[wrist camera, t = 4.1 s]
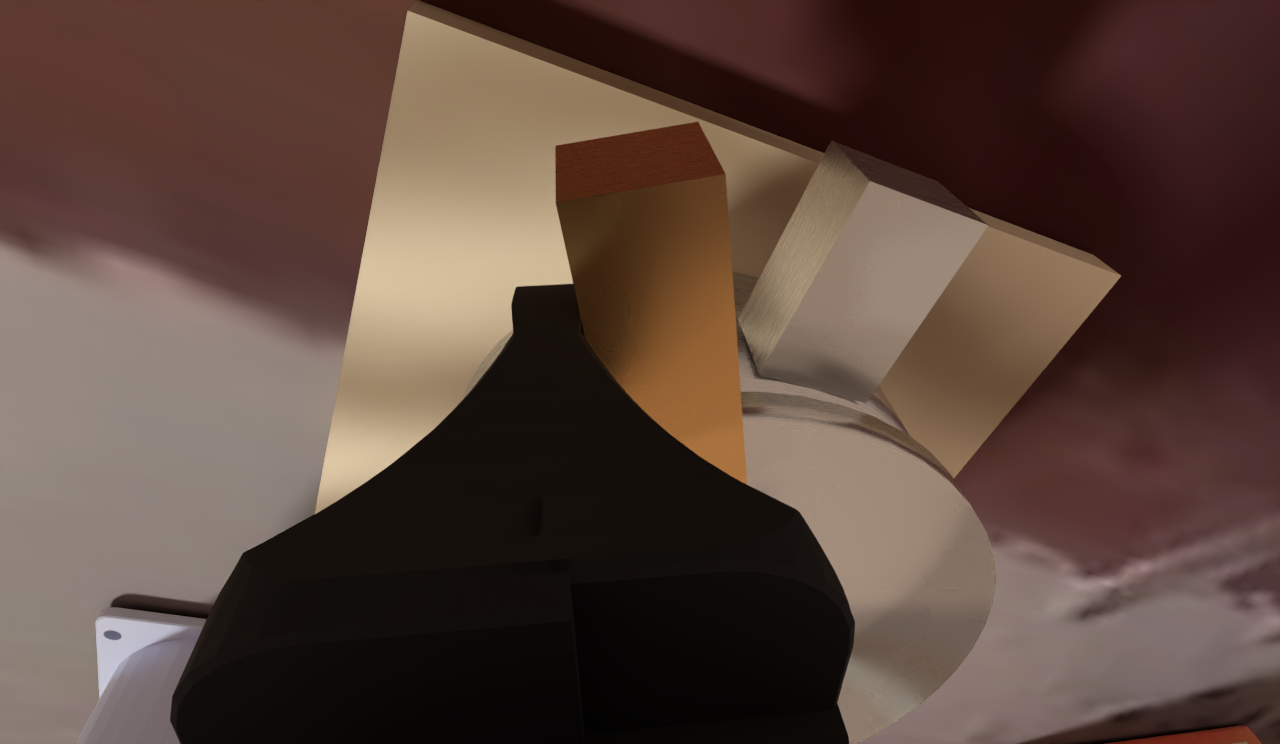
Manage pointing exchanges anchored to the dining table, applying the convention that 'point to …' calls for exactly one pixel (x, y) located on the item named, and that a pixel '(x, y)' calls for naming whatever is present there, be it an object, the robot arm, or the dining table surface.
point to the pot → (845, 283)
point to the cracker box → (1203, 737)
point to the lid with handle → (770, 414)
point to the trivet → (536, 255)
